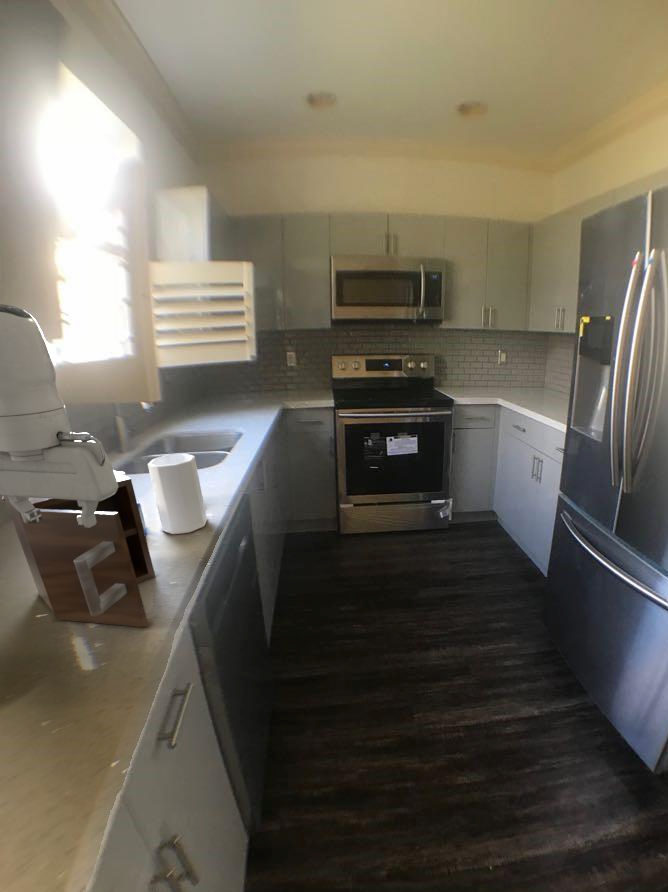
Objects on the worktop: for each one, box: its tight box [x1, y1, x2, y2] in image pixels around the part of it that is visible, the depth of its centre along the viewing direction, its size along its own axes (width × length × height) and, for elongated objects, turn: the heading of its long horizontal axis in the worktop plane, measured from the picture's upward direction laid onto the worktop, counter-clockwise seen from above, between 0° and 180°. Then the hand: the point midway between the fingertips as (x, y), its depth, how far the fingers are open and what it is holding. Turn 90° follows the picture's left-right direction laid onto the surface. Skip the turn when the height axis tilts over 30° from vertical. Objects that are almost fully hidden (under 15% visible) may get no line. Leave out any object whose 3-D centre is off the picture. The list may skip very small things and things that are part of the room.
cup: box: [147, 453, 208, 535], centre depth 119 cm, size 11×11×18 cm
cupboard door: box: [18, 509, 149, 628], centre depth 77 cm, size 8×18×22 cm, turn 80°
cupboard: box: [3, 469, 156, 612], centre depth 92 cm, size 12×18×22 cm, turn 139°
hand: (60, 523), depth 67 cm, fingers open, 8 cm apart
